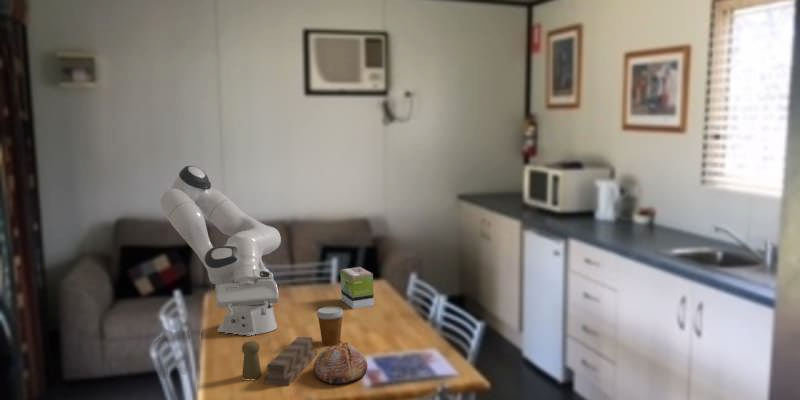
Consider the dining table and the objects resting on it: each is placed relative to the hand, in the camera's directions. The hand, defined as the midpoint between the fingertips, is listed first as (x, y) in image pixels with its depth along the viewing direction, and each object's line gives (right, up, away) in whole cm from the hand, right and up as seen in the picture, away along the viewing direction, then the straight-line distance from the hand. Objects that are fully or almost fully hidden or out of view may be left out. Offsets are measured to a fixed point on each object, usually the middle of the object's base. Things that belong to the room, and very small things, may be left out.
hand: (248, 315), depth 210 cm
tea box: (+31, -8, +70) cm, 77 cm away
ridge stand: (+15, -16, -4) cm, 22 cm away
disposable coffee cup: (+25, -14, +20) cm, 35 cm away
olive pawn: (+4, -17, -10) cm, 20 cm away
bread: (+31, -17, -9) cm, 36 cm away
